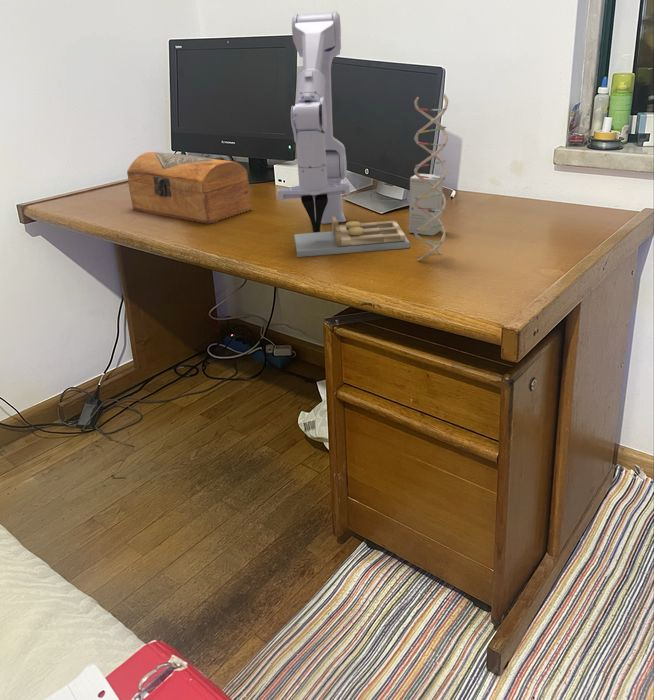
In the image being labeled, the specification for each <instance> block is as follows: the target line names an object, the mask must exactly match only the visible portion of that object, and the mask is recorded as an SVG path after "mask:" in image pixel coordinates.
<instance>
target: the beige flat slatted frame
mask: <svg viewBox="0 0 654 700" xmlns="http://www.w3.org/2000/svg"><path fill="white" fill-rule="evenodd" d="M331 227H332V228H331V229H332V230H331V231H333V234H334V237H335V240H336V243H337V246H348V245H360V244H372V243H384V242H397V241H405V236H406V233H404V231H403V230H402V228H401V227H400V225H399V224H398V222H397V220H388V221H387V220H384V221H376V222H375V221H373V222H363V223H361V222H360V228H363V234H360V236H352V235H350V234H349V232H348V228H346V224H340V225H339V222H337V219H336V217H335V216H334V217H332V223H331Z"/></svg>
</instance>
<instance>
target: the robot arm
mask: <svg viewBox="0 0 654 700" xmlns="http://www.w3.org/2000/svg"><path fill="white" fill-rule="evenodd" d="M291 18H292V19H291V32H292V33H291V34H292V40H293V41H292V42H293V44H294V46H295V49H296V52H297V53H298V56H299V57H300V58H302V71H301V72H300V73H298V75H297V78H296V86H295V87H296V89H295V90H296V91H295V101H294V105H291V108H290V123H291V128H292V133H293V140H294V143H295V144H296V146H295V147H296V158H297V173H298V174H297V175H298V185H295V186H288V187H282V188H281V187H280V188H277V195H278V201H284V200H290V199H301V203H302V206H303V207H304V209H305V212H306V213H307V215H308V217H309V220H310V223H311V227H312V233H318V232H321V225H324V224H332V217H334V216H335V217H336V219H337V222H338V223H347V219H346V216H345V214H344V212H343V200H342V199H343V197H342V195H345V196H349V195H351V193H350V192H351V189H350V184H349V182H347V183H346V182H345V183H342V180H343V181H344V180H345V179H346V178H347V170H348V169H347V168H348V167H347V166H348V165H347V162H348V161H347V156H346V155H347V154H346V147H345V145H344V144H343V142H341V141H339V140H338V138H335V137H334V130H333V129H334V128H333V125H334V124H333V103H332V102H333V100H332V99H333V97H332V63H333V59H334V58H335V57H338V56H339V55H341V49H342V43H341V41H342V39H341V37H342V34H341V33H342V32H341V31H342V27H341V18H340V14H339V13H338V12H337V10H336V11H333V12H318V13H317V12H316V13H315V12H314V13H300V14H299V13H294V14H293V16H292V17H291ZM327 151H328V152H327ZM329 151H332V152H329ZM334 151H335V152H334Z"/></svg>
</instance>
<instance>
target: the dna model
mask: <svg viewBox="0 0 654 700" xmlns="http://www.w3.org/2000/svg"><path fill="white" fill-rule="evenodd" d="M442 96H443V99H444V101H445V102H444V103H445V104H444V106H443V108H432V109H431V111H434V112H435V111H436V112H439V113H438V114H437V115H436V116H435V117H432V116H431V115H430V114H428V113H427V112H425V111H430V109H429V108H421V107H419V105H418V102H419V101H418V100H419V98H420V97H419V96H417V97H416V98H415V99H414V102H413V103H414V104H413V105H414V109H415V110H416V111H418V112H419V114H422V116H424V117H425V118H426V119H428V120H430V121H428V122H427V124H425V125H424V126H423V127H421V128H420V129H419V130H417V131H416V132H415V135H414V138H413V140H414V142H415V144H416V145H418V146H419V147H421V148H422V149H424V150H425V151H426V152H428V154H430V155H429V156H428V157H426V158H425V159H424V160H422V161H421V162H420V163H419V164H415V167H414V169H413V173H414V175H416V176H417V177H418V178H420V179H421V180H423V181H424V182H426V183H427V184H429V185H430V186H432V187H431V189H430V190H428V191H426V192H425V193H423V194H422V195H421V196H419V197H418V198H415V199H416V200H415V201H414V205H415V207H416V208H418V209H419V210H421V211H422V212H424V213H426V214H427V215H429V217H432V218H433V219H430V221H429V222H427V223H426V224H424V225H423V226H421V227H420V228H418V229H415V232H414V233H413V234H414V237H415V238H416V239H418V240H420V241H422V243H425V244H426V245H428V246H429V247H430V248H432V249H430V251H428V252H426V253H425V254H423V255H421V256H420V257H419V258H418V257H417V259H416V260H417V261H418V262H419V261H421V260H423V259H425V258H426V257H429V256H430V255H431V254H433V253H434V252H436V253H438V254H439V255H442V253H443V252H441V251H440V250H439V248H440V247H441V246H442V244H443V243H444V241H445V238H446V228H445V225H444V223H442V221H441V222H440V220H439V219H438V218H439V217H440V215H441V216H442V214H443V213H444V212H445V210H446V207H447V199H446V196H445V193H444V192H443V190H442V191H441V190H440V189H439V188H437V187H438V186H439V185H440V184H441V183H442V182H443V183H444V181H445V180H446V176H447V172H448V169H447V166H446V163H445V162H446V161H447V160H446V159H442V158H441V157H440V156H439V155H438V154H439V153H441V151H443V149H444V148H445V146H446V145H447V142H448V133H447V131H446V128H447V126H444V125H442V124H441V123H440V122H439V121H438V120H439V119H440V118H441V117H443V115H444V114H445V112H446V111H447V109H448V106H449V99H448V96H447V95H446V93H444V94H443V95H442ZM432 124H435V125H436V126H437V127H438V128H435V129H428V130H427V128H429V127H430V126H431V125H432ZM440 130H441V131H442V133H443V136H444V139H443V143H442V144H441V143H440V144H438V143H429V142H420V141H419V134H424V133H428V132H436V131H440ZM426 145H427V146H428V145H430V146H435V147H439V148H437V149H436V150H435V151H434V150H430V149H429V148H428V147H427V146H426ZM433 158H435V159H436V160H438V161H437V162H432V163H431V165H432V166H433V165H438V164H441V165H442V166H443V173H442V176H443V177H442V178H436V177H432V178H431V179H439V180H440V181H439V182H438V183H436V184H435V185H434V184H433V183H431V182H430V181H428V180H427V179H425V178H429V177H426V176H420V175H419V174H420V173H419V172H418V171H419V170H420V168H422V167H427V166H430V164H429V163H427V162H429V161H430V160H432V159H433ZM426 163H427V164H426ZM434 189H435V190H436V191H437V192H438V193H439V194H435V195H431V196H426V197H424V196H425V195H427V194H428V193H430V192H431V191H433V190H434ZM438 195H441V197H442V202H443V204H442V208H441V210H435V209H431V210H432V211H437V212H439V213H438V214H437V215H436V216H434V215H433V214H431V213H429V212H428V211H426V210H428V208H421V207H420V206H419V205H418V204H417V202H418V201H419V200H420V199H424V198H428V197H433V196H438ZM424 209H426V210H424ZM435 220H436V221H437V222H438V223H439V225H438V226H434V227H430V228H425V227H426V226H428V225H430V224H431V223H433V222H434V221H435ZM436 227H441V231H442V236H441V239H440V241H436V240H435V241H434V240H431V239H427V238H423V237H421V235H420V234H417V233H418V231H422V230H427V229H431V228H436ZM423 228H425V229H423ZM433 243H434V244H433ZM435 244H436V245H435Z"/></svg>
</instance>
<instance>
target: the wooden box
mask: <svg viewBox="0 0 654 700" xmlns="http://www.w3.org/2000/svg"><path fill="white" fill-rule="evenodd" d="M126 173H127V174H126V175H127V180H128V188H129V195H130V199H131V205H132V210H133V211H135V210H136V211H137V212H141V211H142V212H141V213H146V212H147V214H152V213H153V215H157V214H158V216H162V215H164V216H163V217H168V216H169V217H170V218H173V217H174V218H173V219H179V218H180V219H181V220H183V219H185V221H189V220H190V221H189V222H194V221H196V223H199V222H201V224H204V223H206V224H205V225H211V224H214V223H217V222H220V221H223V220H226V219H229V218H232V217H234V215H235V216H238V215H241V214H244V213H246V211H247V212H249V210H250V211H252V197H251V191H250V180H249V176H248V170H247V169H246V168H245V167H244V166H243V165H242V164H241V163H239V162H236V161H233V160H232V161H231V160H225V159H218V158H217V159H216V158H210V157H206V156H197V155H189V154H182V153H181V154H180V153H171V152H170V153H169V152H158V151H147V152H144V153H142V154H140V155H139V156H137V157H136V158H135V159H134V161H133V162H132V163H131V164H130V166H129V167H128V169H127V171H126ZM243 212H244V213H243ZM240 213H241V214H240ZM237 214H238V215H237ZM231 216H232V217H231ZM169 217H168V218H169ZM228 217H229V218H228ZM225 218H226V219H225ZM180 219H179V220H180ZM222 219H223V220H222ZM219 220H220V221H219ZM210 223H211V224H210Z"/></svg>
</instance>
